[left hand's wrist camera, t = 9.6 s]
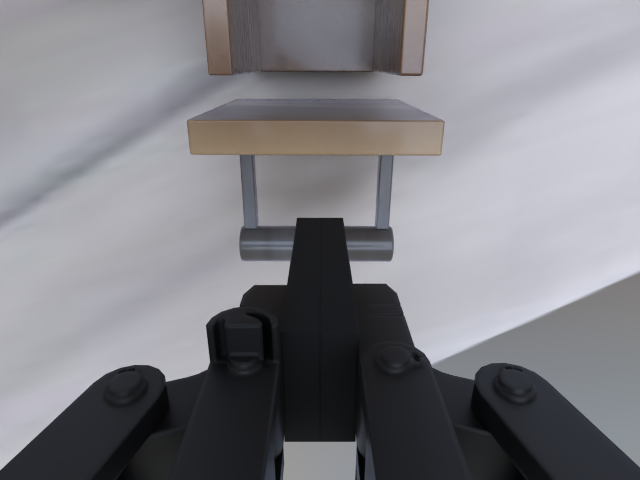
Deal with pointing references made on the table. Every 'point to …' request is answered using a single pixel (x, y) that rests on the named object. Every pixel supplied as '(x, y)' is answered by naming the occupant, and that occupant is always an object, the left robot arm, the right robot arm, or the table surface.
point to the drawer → (315, 100)
